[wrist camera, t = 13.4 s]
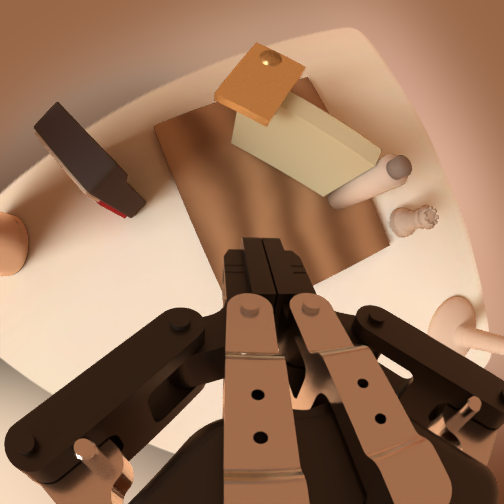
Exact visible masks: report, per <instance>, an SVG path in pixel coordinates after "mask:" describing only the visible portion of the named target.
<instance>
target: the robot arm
mask: <svg viewBox="0 0 504 504" xmlns="http://www.w3.org/2000/svg"><path fill="white" fill-rule="evenodd" d="M28 246H29V244H28V234H27V230H26V228H25V225H24V224H23V222H22V221H21V220H20V219H19V218H18V217H16V216H14V215H10V214H6V213H3V212H0V276H10V275H14V274H15V273H17V272H18V271H19V270H20V269H21V268H22V266H23V264H24V262H25V260H26V257H27V253H28ZM222 295H223V308H222V309H221V310H220V311H219V312H217V313H215V314H212V315H209V316H205V317H202V316H201V315H200V314H199V313H198V312H196V311H194V310H192V309H189V308H173V309H169V310H167V311H165V312H164V313H162V314H161V315H159V316H158V317H157V318H155V319H154V320H153V321H151V322H150V323H149V324H147V325H146V326H145V327H143V328H142V329H141V330H139V331H138V332H137V333H135V334H134V335H133V336H131V337H130V338H129V339H127V340H126V341H124V342H123V343H122V344H120V345H119V346H118V347H116V348H115V349H114V350H112V351H111V352H110V353H108V354H107V355H106V356H104V357H103V358H102V359H100V360H99V361H98V362H96V363H95V364H94V365H92V366H91V367H90V368H88V369H87V370H86V371H84V372H83V373H82V374H80V375H79V376H78V377H76V378H75V379H74V380H72V381H71V382H70V383H68V384H67V385H66V386H64V387H63V388H62V389H60V390H59V391H58V392H56V393H55V394H54V395H52V396H51V397H50V398H49V399H47V400H46V401H45V402H43V403H42V404H40V405H39V406H38V407H36V408H35V409H34V410H33V411H31V412H30V413H28V414H27V415H26V416H24V417H23V418H22V419H20V420H19V421H18V422H16V423H15V424H14V425H13V426H12V427H11V428H10V429H9V430H8V432H7V434H6V437H5V443H4V444H5V445H4V446H5V452H6V455H7V457H8V459H9V460H10V462H11V463H12V464H13V465H14V466H15V467H16V468H18V469H19V470H20V471H22V472H23V473H25V474H26V475H27V476H28V477H29V478H31V479H32V480H33V481H34V482H36V483H37V484H39V485H41V486H42V487H43V488H44V490H45V491H46V492H47V493H48V494H49V495H50V497H51V498H52V499H53V500H54V502H55V503H56V504H123V500H124V496H125V494H126V492H127V491H128V489H129V488H130V487H131V485H132V483H133V478H134V473H133V469H132V467H131V465H130V463H129V461H130V460H131V459H132V458H133V457H134V456H135V455H136V454H137V453H138V452H139V451H140V450H141V449H143V448H144V447H145V446H146V445H147V444H148V443H149V442H150V441H151V440H152V439H153V438H154V437H155V436H156V435H157V434H158V433H159V432H160V431H161V430H162V429H163V428H164V427H165V426H166V425H168V424H169V423H170V422H171V421H172V420H173V419H174V418H175V417H176V416H177V415H178V414H179V413H180V412H181V411H182V410H183V409H184V408H185V407H186V406H187V405H188V404H189V403H190V402H191V401H192V400H193V399H194V397H195V396H196V395H197V394H198V393H199V392H200V391H201V390H202V389H203V388H204V386H205V384H206V383H209V382H213V381H216V380H220V379H223V414H222V419H219V420H217V421H214V422H212V423H210V424H208V425H206V426H204V427H203V428H201V429H200V430H198V431H197V432H196V433H194V434H193V435H192V436H191V437H190V438H189V439H188V440H187V441H186V442H185V443H184V444H183V445H182V447H181V448H180V449H179V450H178V451H177V452H176V453H175V454H174V456H173V457H172V458H171V459H170V460H169V461H168V462H167V463H166V464H165V466H164V467H163V468H162V469H161V470H160V471H159V472H158V473H157V474H156V475H155V476H154V478H152V479H151V481H150V482H149V483H148V484H147V485H146V486H145V487H144V488H143V489H142V490H141V491H140V492H139V493H138V494H137V495H136V496H135V497H134V498H133V499H132V500H131V501H130V502H129V503H128V504H498V494H499V492H498V485H497V481H496V478H495V477H494V475H493V473H492V472H491V470H490V469H489V468H488V467H487V463H488V460H489V458H490V454H491V451H492V448H493V445H494V441H495V438H496V434H497V431H498V429H499V427H501V426H502V425H503V424H504V381H503V380H502V379H500V378H498V377H496V376H495V375H493V374H492V373H490V372H489V371H487V370H485V369H484V368H482V367H480V366H479V365H477V364H475V363H474V362H472V361H470V360H469V359H467V358H465V357H464V356H462V355H460V354H459V353H457V352H456V351H454V350H452V349H451V348H449V347H447V346H446V345H444V344H442V343H440V342H439V341H437V340H435V339H434V338H432V337H430V336H429V335H427V334H425V333H424V332H422V331H420V330H419V329H417V328H415V327H414V326H412V325H410V324H408V323H407V322H405V321H403V320H402V319H400V318H398V317H397V316H395V315H393V314H391V313H390V312H388V311H386V310H385V309H383V308H380V307H377V306H373V305H367V306H363V307H361V308H360V309H359V310H358V311H357V313H356V316H355V315H349V314H344V313H339V312H336V311H334V310H333V308H332V306H331V305H330V303H329V302H328V301H327V300H326V299H325V298H323V297H321V296H319V295H317V294H316V292H315V290H314V288H313V285H312V283H311V281H310V278H309V276H308V274H307V272H306V269H305V267H304V265H303V263H302V260H301V258H300V257H299V256H298V255H297V254H296V253H294V252H293V251H291V250H284V248H283V245H282V243H281V240H280V238H259V237H242V238H241V244H240V249H228V251H227V252H226V254H225V255H224V259H223V279H222ZM278 349H279V351H278ZM380 354H383V355H384V356H386V357H388V358H389V359H391V360H392V361H394V362H396V363H397V364H399V365H400V366H402V367H404V368H405V369H407V370H408V371H410V372H411V374H412V375H413V377H412V378H409V379H405V378H402V377H401V376H399V375H397V374H396V373H394V372H393V371H391V370H389V369H388V368H386V367H385V366H383V365H382V364H380V363H378V362H377V360H378V358H379V356H380Z"/></svg>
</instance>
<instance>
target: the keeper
mask: <svg viewBox="0 0 504 504" xmlns="http://www.w3.org/2000/svg"><path fill="white" fill-rule="evenodd" d="M304 69H305V66H303V65H301V64H299V63H297V62H295V61H293V60H291V59H290V58H288V57H286V56H284V55H282V54H280V53H278V52H275V51H273V50H271V49H269V48H267V47H265V46H263V45H261V44H258V43H256V44H255V45H254V46H253V47H252V48H251V49H250V50H249V52H248V53H247V54H246V55H245V56H244V57H243V59H242V60H241V61H240V62H239V63H238V65H237V66H236V67H235V68H234V69H233V71H232V72H231V73H230V74H229V76H228V77H227V78H226V79H225V81H224V82H223V83H222V84H221V86H220V87H219V88H218V90H217V91H216V92H215V97H214V101H217V102H219V103H221V104H223V105H225V106H227V107H229V108H231V109H233V110H235V111H237V112H239V113H241V114H243V115H244V116H246V117H248V118H250V119H252V120H254V121H256V122H258V123H260V124H261V125H263V126H265V127H268V125H269V124H270V122H271V120H272V119H273V117H274V116H275V114H276V113H277V111H278V110H279V108H280V107H281V105H282V103H283V102H284V100H285V99H286V97H287V96H288V94H289V93H290V91H291V90H292V88H293V87H294V85H295V84H296V82H297V81H298V79H299V78H300V76H301V75H302V73H303V71H304Z"/></svg>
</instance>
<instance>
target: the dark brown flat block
mask: <svg viewBox="0 0 504 504" xmlns="http://www.w3.org/2000/svg"><path fill="white" fill-rule="evenodd" d="M34 129H35V130H36V132H35V135H36V136H37V137H38V138H39V140H40V141H41V142H42V144H43V145H44V146H45V147H46V149H47V150H48V151H49V152H50V154H51V155H52V156H53V157H54V159H55V160H56V161H57V162H58V163H59V165H60V166H61V167H62V168H63V169H64V171H65V172H66V173H67V174H68V175H69V177H70V178H71V179H72V180H73V181H74V182H75V184H76V185H77V186H78V187H79V188H80V189H81V190H82V192H83V193H84V194H85V195H87V196H89V197H91V198H92V199H94V200H95V201H96V202H97V203H98V204H99V205H101V206H103V207H105V208H106V209H108V210H110V211H112V212H114V213H116V214H117V215H119V216H121V217H123V218H126V217H127V216H128V217H130V218H132V217H133V216H134V215H135V214H136V213H137V211H138V210H139V209H140V208H141V207H142V206H143V205H144V204H145V203H146V201H145V200H144V199H143V198H142V197H141V196H140V195H139V194H138V193H137V192H136V191H135V190H134V189H133V188H132V187H131V186H130V185H129V184H128V183H127V182H126V179H127V174H126V173H125V172H124V170H123V169H122V168H121V167H120V166H119V165H118V164H117V163H116V162H115V161H114V160H113V159H112V158H111V157H110V156H109V155H108V154H107V153H106V152H105V150H104V149H103V148H102V147H101V146H100V145H99V144H98V143H97V142H96V141H95V140H94V139H93V138H92V137H91V136H90V135H89V134H88V133H87V132H86V131H85V130H84V129H83V128H82V127H81V126H80V124H79V123H78V122H77V121H76V120H75V119H74V118H73V117H72V116H71V115H70V114H69V113H68V112H67V111H66V110H65V109H64V107H63V106H62V105H61V104H60V103H59V102H56V103H55V104H54V105H53V106H52V107H51V108H50V109H49V110H48V111H47V112H46V114H45V115H44V116H43V117H42V118H41V119H40V120H39V121H38V122H37V123H36V125H35V126H34Z"/></svg>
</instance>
